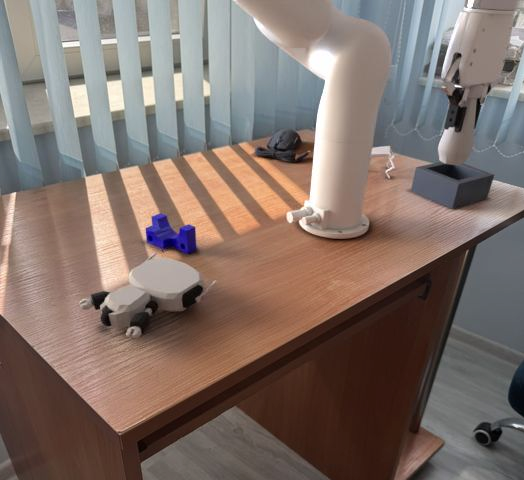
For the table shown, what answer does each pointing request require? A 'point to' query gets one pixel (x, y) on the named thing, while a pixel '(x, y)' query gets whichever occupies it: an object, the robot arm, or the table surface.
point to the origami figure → (384, 155)
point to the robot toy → (149, 294)
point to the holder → (452, 183)
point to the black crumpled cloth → (282, 146)
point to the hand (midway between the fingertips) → (459, 128)
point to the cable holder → (170, 235)
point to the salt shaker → (461, 133)
